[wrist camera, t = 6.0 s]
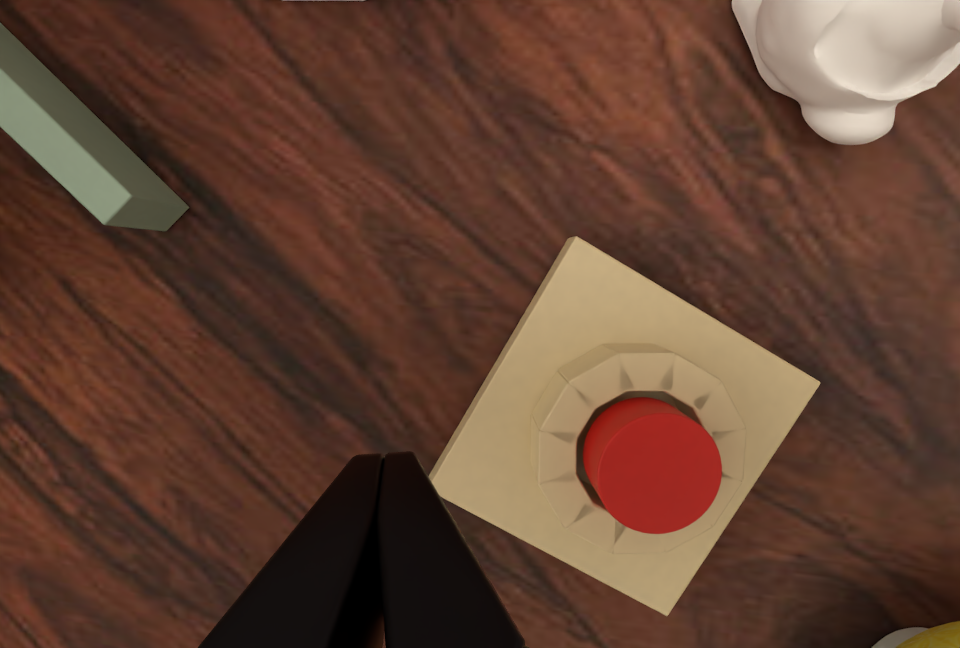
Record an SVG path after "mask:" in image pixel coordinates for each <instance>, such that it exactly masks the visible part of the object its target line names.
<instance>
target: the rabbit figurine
mask: <svg viewBox="0 0 960 648" xmlns="http://www.w3.org/2000/svg"><path fill="white" fill-rule="evenodd" d="M732 10H733V12H734V14H735V16H736V18H737V21H738V23H739V25H740V28H741V30H742V32H743V35H744V37H745V39H746V41H747V44H748V46H749V48H750V50H751V53H752V55H753V58H754V61H755V64H756V67H757V69H758V72H759V74H760V76H761V77H762V78H763V80H764V81H765V82H766V83H767V85H768V86H769V87H770V88H771V89H772V90H774V91H777V92H779V93H781V94H783V95H786V96H788V97H791V98H793V99H795V100H796V101H797V102H798V103H799V104H800V106H801V110H802V116H803V118H804V120H805V121H806V122H807V124H808V125H809V126H810V127H811V128H812V130H814V131H815V132H816V133H817V134H818V135H820V136H821V137H823V138H824V139H826V140H828V141H830V142H832V143H836V144H843V145H860V144H866V143H869V142H872V141H874V140H876V139H878V138H880V137H882V136H883V135H885V134H886V133H887V132H889V131H890V129H891V128H892V126H893V123H894V118H895V108H896V106H897V104H898V103H899V102H901V101H903V100H905V99H908V98H910V97H912V96H914V95H916V94H918V93H920V92H922V91H925V90H927V89H930V88H933V87H935V86H937V83H939V82H940V81H941V80H943V79H944V78H945V77H946V76H948V75H949V74H950V73H951V72H952V71H953V70H954V69H955V68H956V67H957V66H958V65H959V64H960V0H732Z"/></svg>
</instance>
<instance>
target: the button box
mask: <svg viewBox="0 0 960 648" xmlns="http://www.w3.org/2000/svg"><path fill="white" fill-rule="evenodd" d="M819 385H820V382H819V381H818V380H816V379H814V378H813V377H811V376H809V375H808V374H806V373H804V372H803V371H801V370H799V369H798V368H796V367H794V366H793V365H791V364H789V363H788V362H786V361H784V360H783V359H781V358H779V357H778V356H776V355H774V354H773V353H771V352H769V351H768V350H766V349H764V348H763V347H761V346H759V345H758V344H756V343H754V342H753V341H751V340H749V339H748V338H746V337H744V336H743V335H741V334H739V333H738V332H736V331H734V330H733V329H731V328H729V327H728V326H726V325H724V324H723V323H721V322H719V321H718V320H716V319H714V318H713V317H711V316H709V315H708V314H706V313H704V312H703V311H701V310H699V309H698V308H696V307H694V306H692V305H691V304H689V303H687V302H686V301H684V300H682V299H681V298H679V297H677V296H676V295H674V294H672V293H671V292H669V291H667V290H666V289H664V288H662V287H661V286H659V285H657V284H656V283H654V282H652V281H651V280H649V279H647V278H646V277H644V276H642V275H641V274H639V273H637V272H636V271H634V270H632V269H631V268H629V267H627V266H626V265H624V264H622V263H621V262H619V261H617V260H616V259H614V258H612V257H611V256H609V255H607V254H606V253H604V252H602V251H601V250H599V249H597V248H596V247H594V246H592V245H591V244H589V243H587V242H586V241H584V240H582V239H581V238H579V237H577V236H575V237H571V238H568V239H567V241H566V243H565V245H564V246H563V248H562V250H561V251H560V253H559V255H558V256H557V258H556V260H555V262H554V263H553V265H552V267H551V268H550V270H549V272H548V273H547V275H546V277H545V279H544V280H543V282H542V284H541V285H540V287H539V289H538V291H537V292H536V294H535V296H534V297H533V299H532V301H531V302H530V304H529V306H528V308H527V309H526V311H525V313H524V314H523V316H522V318H521V319H520V321H519V323H518V325H517V326H516V328H515V330H514V331H513V333H512V335H511V337H510V338H509V340H508V342H507V343H506V345H505V347H504V348H503V350H502V352H501V354H500V355H499V357H498V359H497V360H496V362H495V364H494V365H493V367H492V369H491V371H490V372H489V374H488V376H487V377H486V379H485V381H484V382H483V384H482V386H481V388H480V389H479V391H478V393H477V394H476V396H475V398H474V400H473V401H472V403H471V405H470V406H469V408H468V410H467V411H466V413H465V415H464V417H463V418H462V420H461V422H460V423H459V425H458V427H457V428H456V430H455V432H454V434H453V435H452V437H451V439H450V440H449V442H448V444H447V446H446V447H445V449H444V451H443V452H442V454H441V456H440V457H439V459H438V461H437V463H436V464H435V466H434V468H433V469H432V471H431V473H430V474H429V478H430V480H431V482H432V484H433V485H434V487H435V489H436V490H437V492H438V494H439V495H440V497H442V498H444V499H446V500H448V501H450V502H452V503H454V504H455V505H457V506H459V507H461V508H463V509H465V510H467V511H469V512H471V513H473V514H474V515H476V516H478V517H480V518H482V519H484V520H486V521H488V522H490V523H491V524H493V525H495V526H497V527H499V528H501V529H503V530H505V531H507V532H508V533H510V534H512V535H514V536H516V537H518V538H520V539H522V540H524V541H526V542H527V543H529V544H531V545H533V546H535V547H537V548H539V549H541V550H543V551H544V552H546V553H548V554H550V555H552V556H554V557H556V558H558V559H560V560H562V561H563V562H565V563H567V564H569V565H571V566H573V567H575V568H577V569H579V570H580V571H582V572H584V573H586V574H588V575H590V576H592V577H594V578H596V579H598V580H599V581H601V582H603V583H605V584H607V585H609V586H611V587H613V588H615V589H616V590H618V591H620V592H622V593H624V594H626V595H628V596H630V597H632V598H634V599H635V600H637V601H639V602H641V603H643V604H645V605H647V606H649V607H651V608H652V609H654V610H656V611H658V612H660V613H662V614H664V615H666V616H668V614H669V613H670V611H671V610H672V608H673V607H674V605H675V604H676V602H677V601H678V599H679V598H680V596H681V595H682V593H683V592H684V590H685V589H686V587H687V586H688V584H689V583H690V581H691V579H692V578H693V576H694V575H695V573H696V572H697V570H698V569H699V567H700V566H701V564H702V563H703V561H704V560H705V558H706V557H707V555H708V554H709V552H710V551H711V549H712V548H713V546H714V545H715V543H716V542H717V540H718V538H719V537H720V535H721V534H722V532H723V531H724V529H725V528H726V526H727V525H728V523H729V522H730V520H731V519H732V517H733V516H734V514H735V513H736V511H737V510H738V508H739V507H740V505H741V504H742V502H743V500H744V499H745V497H746V496H747V494H748V493H749V491H750V490H751V488H752V487H753V485H754V484H755V482H756V481H757V479H758V478H759V476H760V475H761V473H762V472H763V470H764V469H765V467H766V466H767V464H768V462H769V461H770V459H771V458H772V456H773V455H774V453H775V452H776V450H777V449H778V447H779V446H780V444H781V443H782V441H783V440H784V438H785V437H786V435H787V434H788V432H789V431H790V429H791V428H792V426H793V424H794V423H795V421H796V420H797V418H798V417H799V415H800V414H801V412H802V411H803V409H804V408H805V406H806V405H807V403H808V402H809V400H810V399H811V397H812V396H813V394H814V393H815V391H816V390H817V388H818V386H819ZM636 397H649V398H655V399H658V400H661V401H664V402H666V403H668V404H670V405H672V406H673V407H675V408H676V409H678V410H679V411H681V412H682V413H683V414H685V415H686V416H688V417H689V418H691V419H692V420H694V421H695V422H697V423H698V424H700V425H701V426H702V427H703V428H704V429H705V430H706V431H707V432H708V433H709V434H710V435H711V437H712V438H713V440H714V442H715V443H716V446H717V448H718V450H719V454H720V457H721V463H722V478H721V484H720V487H719V490H718V493H717V495H716V498H715V499H714V501H713V503H712V504H711V506H710V507H709V508H708V510H707V511H706V512H705V513H704V514H703V515H702V516H701V517H700V518H699V519H697V520H696V521H695V522H693V523H692V524H690V525H689V526H687V527H685V528H683V529H680V530H677V531H674V532H670V533H665V534H648V533H642V532H639V531H635V530H632V529H630V528H628V527H626V526H624V525H623V524H621V523H620V522H618V521H617V520H616V519H615V518H614V517H613V516H612V515H611V514H610V513H609V512H608V510H607V509H606V507H605V506H604V504H603V503H602V501H601V499H600V498H599V496H598V494H597V492H596V491H595V489H594V487H593V486H592V484H591V482H590V480H589V478H588V476H587V474H586V471H585V468H584V463H583V446H584V442H585V438H586V435H587V433H588V431H589V429H590V427H591V425H592V424H593V422H594V421H595V420H596V418H597V417H598V416H599V415H600V414H601V413H602V412H603V411H605V410H606V409H607V408H609V407H610V406H612V405H614V404H616V403H618V402H620V401H623V400H626V399H630V398H636Z"/></svg>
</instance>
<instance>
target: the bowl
mask: <svg viewBox="0 0 960 648" xmlns="http://www.w3.org/2000/svg"><path fill="white" fill-rule="evenodd" d="M871 648H960V621H957V622H950V623H947V624H943V625H940V626H936V627H933V628H923V627H913V628H906V629H901V630H898V631H895V632H893V633H891V634H889V635H887V636H885V637H884V638H882V639H881V640H880V641H878V642H877V643H876V644H875V645H874V646H873V647H871Z"/></svg>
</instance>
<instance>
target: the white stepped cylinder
mask: <svg viewBox="0 0 960 648" xmlns="http://www.w3.org/2000/svg"><path fill="white" fill-rule="evenodd" d="M282 1H365V0H282Z"/></svg>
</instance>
